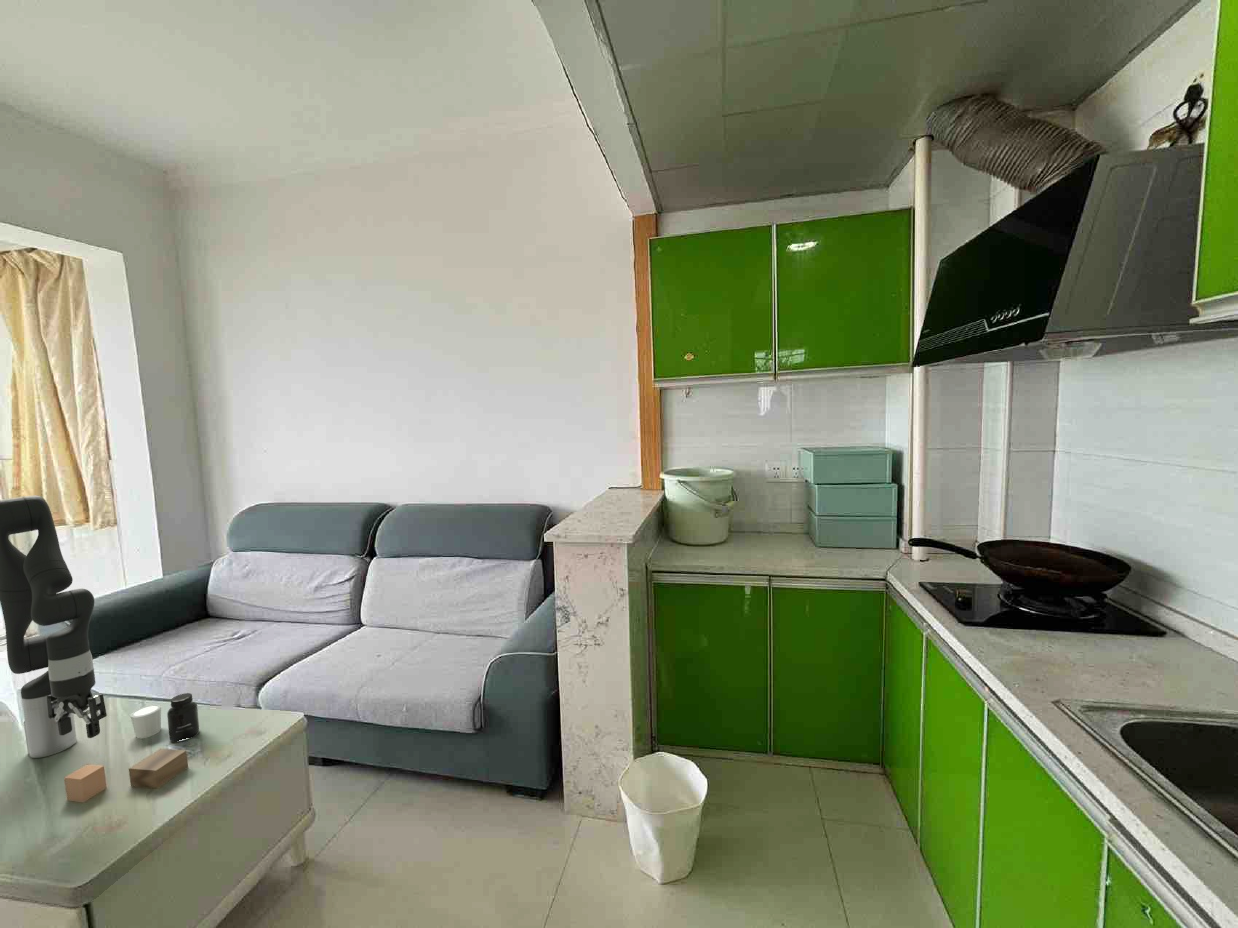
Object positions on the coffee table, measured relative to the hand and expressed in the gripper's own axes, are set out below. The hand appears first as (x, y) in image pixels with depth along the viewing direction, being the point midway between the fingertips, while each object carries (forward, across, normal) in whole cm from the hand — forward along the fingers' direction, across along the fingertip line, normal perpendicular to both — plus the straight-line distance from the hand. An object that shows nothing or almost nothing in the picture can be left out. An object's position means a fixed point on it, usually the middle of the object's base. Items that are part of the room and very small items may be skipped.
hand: (79, 734), depth 129 cm
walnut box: (+16, +12, +8) cm, 21 cm away
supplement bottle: (+16, +1, +24) cm, 29 cm away
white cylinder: (+16, -12, +24) cm, 31 cm away
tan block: (+16, 0, 0) cm, 16 cm away
